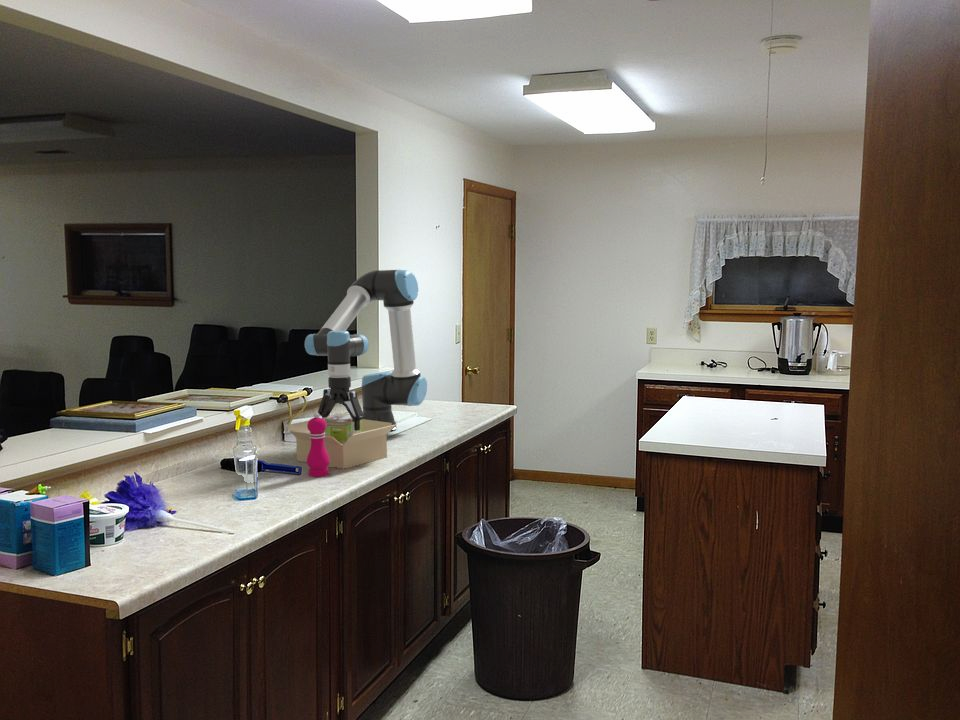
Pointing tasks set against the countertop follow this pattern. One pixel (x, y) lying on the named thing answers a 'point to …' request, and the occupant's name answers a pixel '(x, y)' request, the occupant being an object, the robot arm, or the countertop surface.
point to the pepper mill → (317, 448)
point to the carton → (347, 444)
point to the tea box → (340, 427)
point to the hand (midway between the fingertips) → (341, 437)
